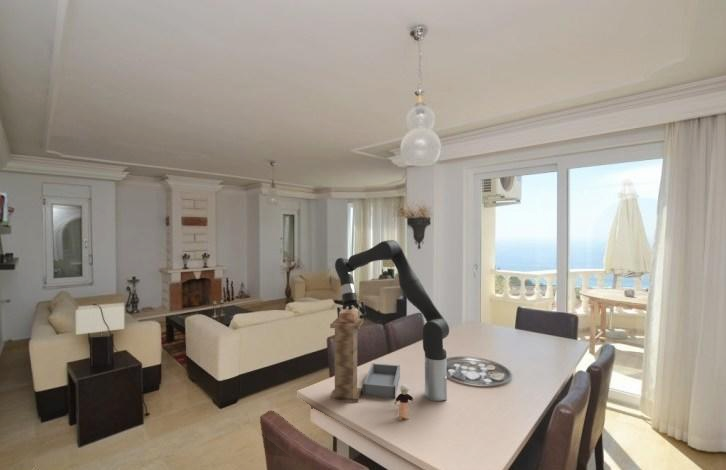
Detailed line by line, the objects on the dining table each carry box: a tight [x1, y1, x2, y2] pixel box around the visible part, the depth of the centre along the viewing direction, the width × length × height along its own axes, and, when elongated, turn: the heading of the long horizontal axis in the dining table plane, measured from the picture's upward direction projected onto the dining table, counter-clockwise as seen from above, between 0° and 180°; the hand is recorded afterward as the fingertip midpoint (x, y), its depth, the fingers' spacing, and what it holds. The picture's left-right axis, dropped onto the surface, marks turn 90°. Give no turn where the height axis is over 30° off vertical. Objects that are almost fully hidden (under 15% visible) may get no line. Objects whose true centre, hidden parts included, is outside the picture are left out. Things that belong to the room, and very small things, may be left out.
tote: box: [362, 362, 401, 399], centre depth 157 cm, size 14×24×5 cm, turn 169°
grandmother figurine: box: [393, 384, 415, 421], centre depth 129 cm, size 8×4×13 cm, turn 105°
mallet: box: [339, 308, 359, 323], centre depth 154 cm, size 7×16×4 cm, turn 169°
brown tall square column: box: [329, 317, 364, 403], centre depth 147 cm, size 12×12×32 cm
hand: (353, 325), depth 166 cm, fingers open, 8 cm apart
